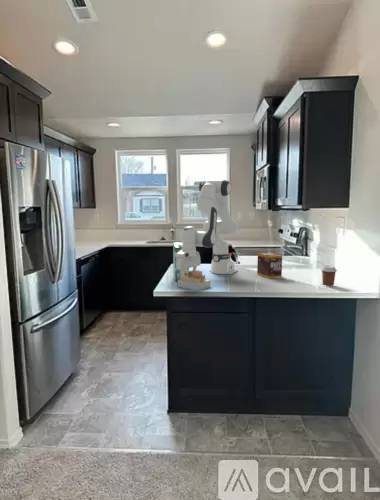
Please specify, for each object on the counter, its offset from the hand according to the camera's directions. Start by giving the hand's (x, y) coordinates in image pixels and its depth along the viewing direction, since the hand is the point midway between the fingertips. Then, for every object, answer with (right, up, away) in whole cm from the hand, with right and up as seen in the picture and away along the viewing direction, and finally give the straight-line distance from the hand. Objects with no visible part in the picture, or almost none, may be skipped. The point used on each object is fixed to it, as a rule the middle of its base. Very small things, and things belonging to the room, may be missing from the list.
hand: (188, 274), depth 219 cm
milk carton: (-5, -5, +18) cm, 19 cm away
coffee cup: (+87, -7, 0) cm, 87 cm away
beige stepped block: (+2, -3, -1) cm, 4 cm away
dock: (+3, -7, -2) cm, 8 cm away
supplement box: (+57, -3, +29) cm, 64 cm away
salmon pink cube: (+5, -2, -4) cm, 7 cm away
